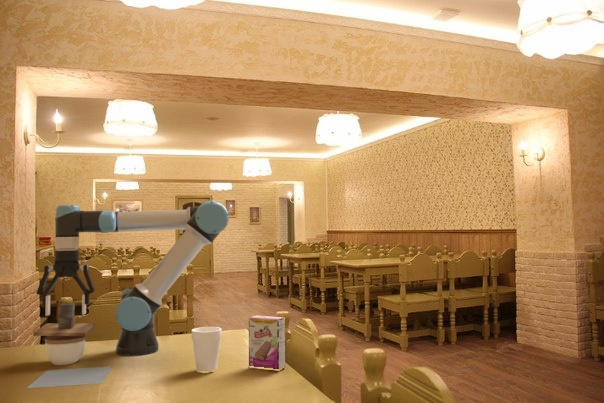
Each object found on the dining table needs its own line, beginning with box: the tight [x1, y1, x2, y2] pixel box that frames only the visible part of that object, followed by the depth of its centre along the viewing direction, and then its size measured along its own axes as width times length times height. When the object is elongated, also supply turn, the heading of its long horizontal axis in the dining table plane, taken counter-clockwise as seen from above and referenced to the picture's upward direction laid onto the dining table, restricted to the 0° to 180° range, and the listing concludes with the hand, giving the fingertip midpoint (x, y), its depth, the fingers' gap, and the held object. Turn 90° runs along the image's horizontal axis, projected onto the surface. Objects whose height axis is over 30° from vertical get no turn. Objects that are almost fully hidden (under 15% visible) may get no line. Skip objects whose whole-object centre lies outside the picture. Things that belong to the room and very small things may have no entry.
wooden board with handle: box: [32, 302, 96, 337], centre depth 178 cm, size 16×16×9 cm
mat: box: [27, 366, 114, 389], centre depth 159 cm, size 20×20×1 cm
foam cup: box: [191, 326, 223, 372], centre depth 166 cm, size 10×9×13 cm
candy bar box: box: [248, 315, 286, 369], centre depth 168 cm, size 11×5×16 cm, turn 65°
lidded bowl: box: [44, 335, 87, 366], centre depth 177 cm, size 13×13×11 cm
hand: (65, 314), depth 178 cm, fingers open, 11 cm apart
